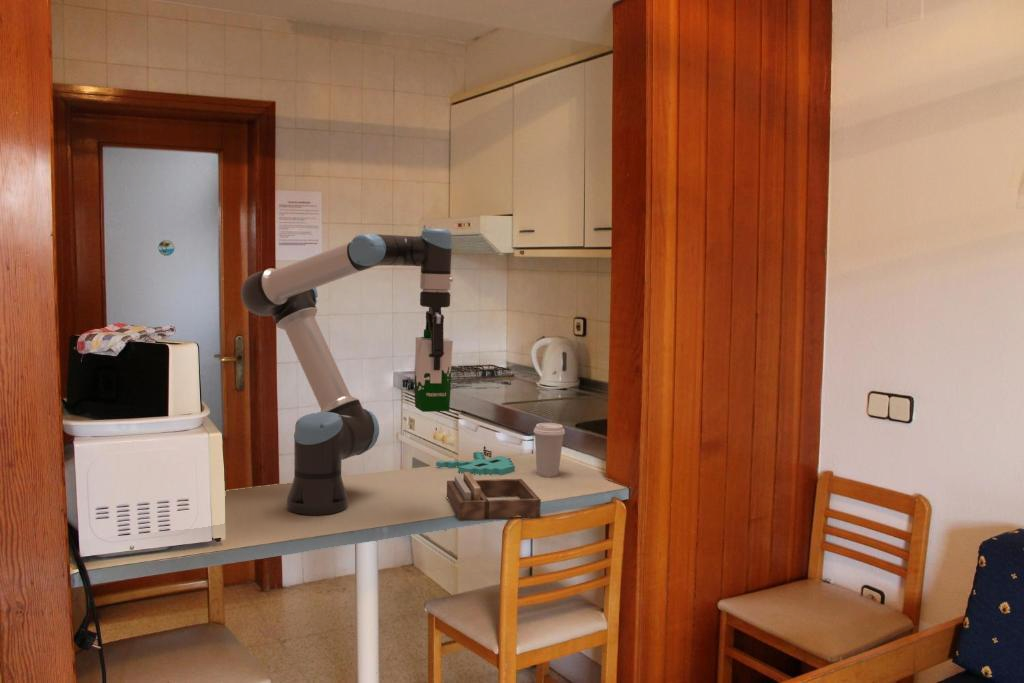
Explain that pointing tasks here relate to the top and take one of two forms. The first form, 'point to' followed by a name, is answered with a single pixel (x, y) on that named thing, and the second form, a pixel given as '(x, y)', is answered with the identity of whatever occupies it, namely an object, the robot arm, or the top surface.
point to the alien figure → (481, 465)
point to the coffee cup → (548, 448)
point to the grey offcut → (462, 488)
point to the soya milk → (425, 392)
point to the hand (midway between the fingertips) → (432, 380)
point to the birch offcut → (472, 486)
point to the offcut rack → (496, 508)
